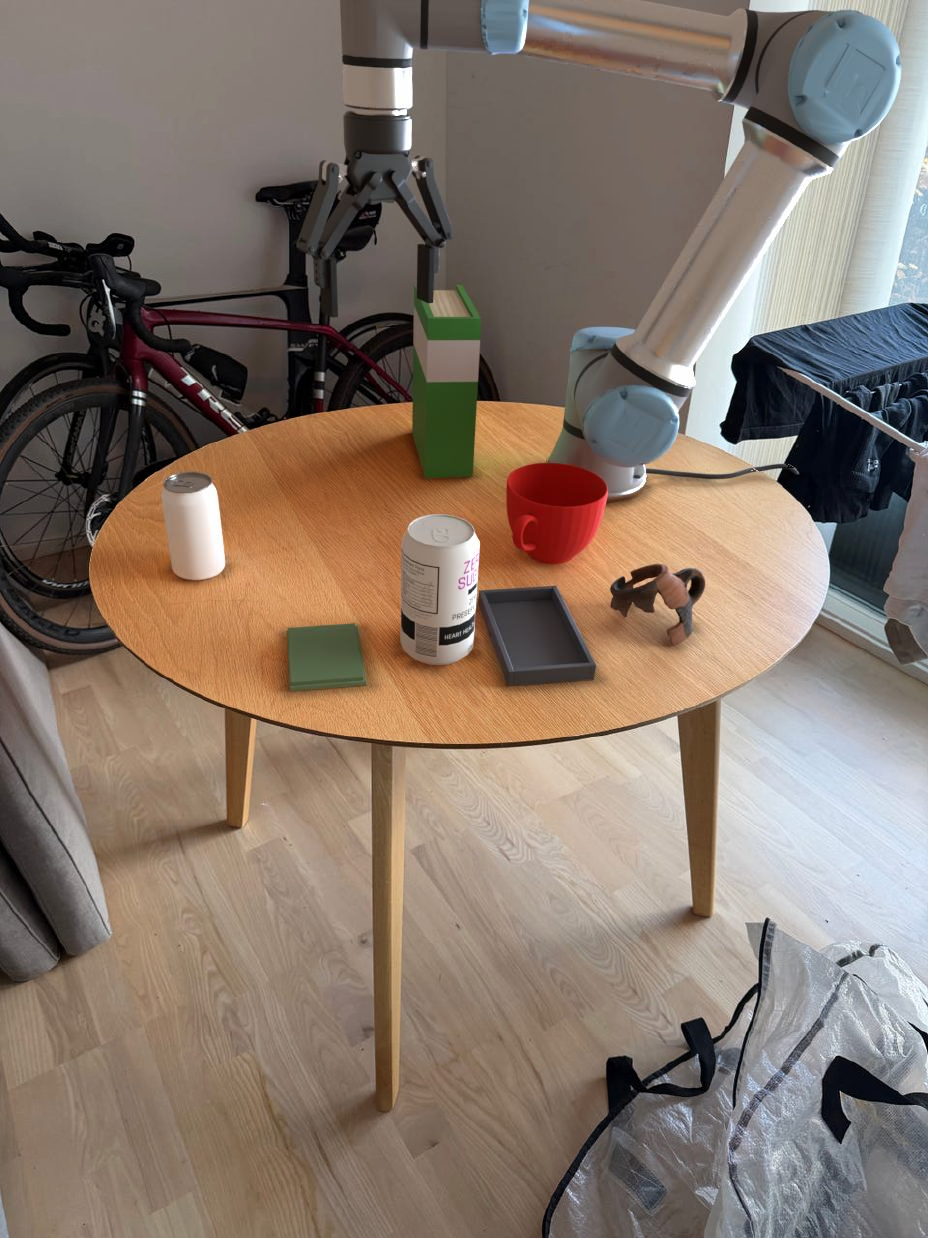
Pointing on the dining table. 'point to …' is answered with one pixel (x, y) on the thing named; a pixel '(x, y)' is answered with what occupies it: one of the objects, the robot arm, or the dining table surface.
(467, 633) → the supplement can
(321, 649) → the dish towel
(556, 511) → the ceramic cup
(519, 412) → the dining table surface
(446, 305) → the hardback book
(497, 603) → the pan
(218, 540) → the can
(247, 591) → the dining table surface
